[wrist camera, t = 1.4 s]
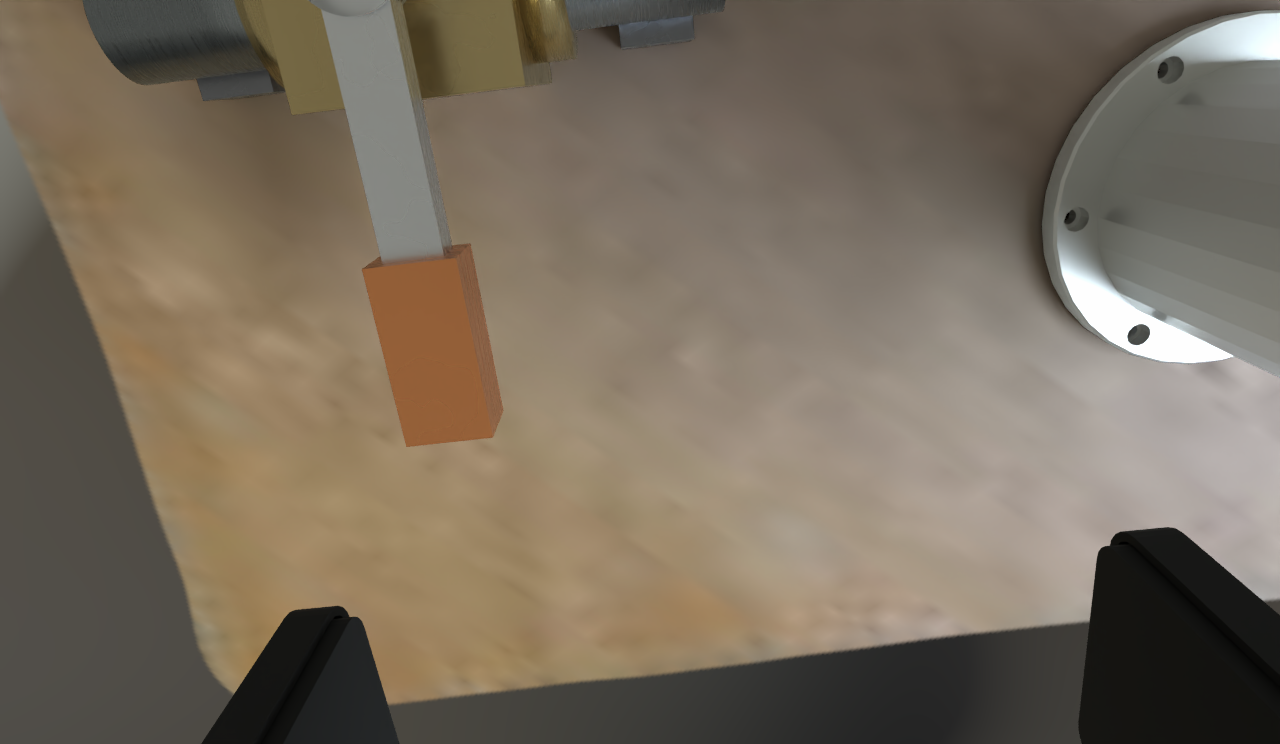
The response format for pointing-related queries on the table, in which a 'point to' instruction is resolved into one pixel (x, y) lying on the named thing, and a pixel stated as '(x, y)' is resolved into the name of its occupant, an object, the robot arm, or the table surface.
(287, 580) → the table surface
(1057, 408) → the table surface
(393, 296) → the valve handle
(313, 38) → the pipe valve
